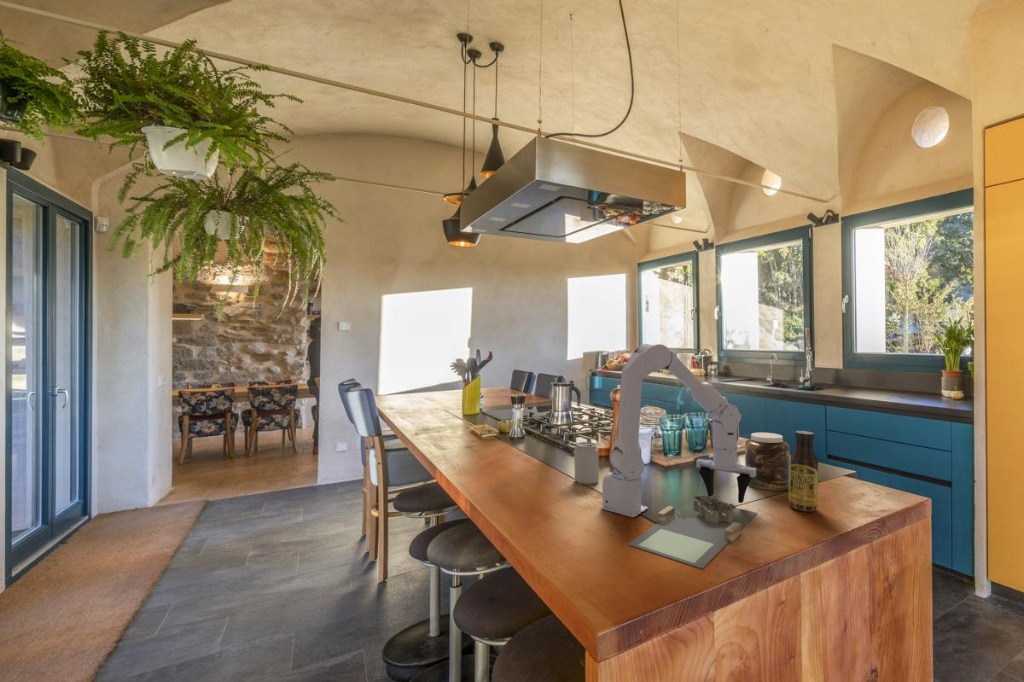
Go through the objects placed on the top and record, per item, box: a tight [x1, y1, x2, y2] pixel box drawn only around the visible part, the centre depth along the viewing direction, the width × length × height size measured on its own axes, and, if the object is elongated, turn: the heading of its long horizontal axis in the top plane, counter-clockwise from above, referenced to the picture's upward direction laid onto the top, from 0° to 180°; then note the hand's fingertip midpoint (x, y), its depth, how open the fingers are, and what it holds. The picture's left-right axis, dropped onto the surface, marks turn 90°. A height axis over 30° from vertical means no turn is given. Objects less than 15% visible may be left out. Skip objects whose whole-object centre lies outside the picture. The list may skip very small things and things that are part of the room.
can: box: [573, 441, 600, 486], centre depth 143 cm, size 8×8×12 cm
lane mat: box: [627, 507, 758, 570], centre depth 107 cm, size 16×37×1 cm, turn 137°
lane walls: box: [657, 505, 742, 543], centre depth 107 cm, size 17×6×2 cm, turn 47°
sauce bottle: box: [788, 430, 819, 513], centre depth 118 cm, size 7×6×20 cm
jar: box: [744, 432, 791, 492], centre depth 137 cm, size 12×12×15 cm
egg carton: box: [690, 494, 737, 523], centre depth 114 cm, size 11×8×4 cm
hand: (725, 498), depth 121 cm, fingers open, 7 cm apart
